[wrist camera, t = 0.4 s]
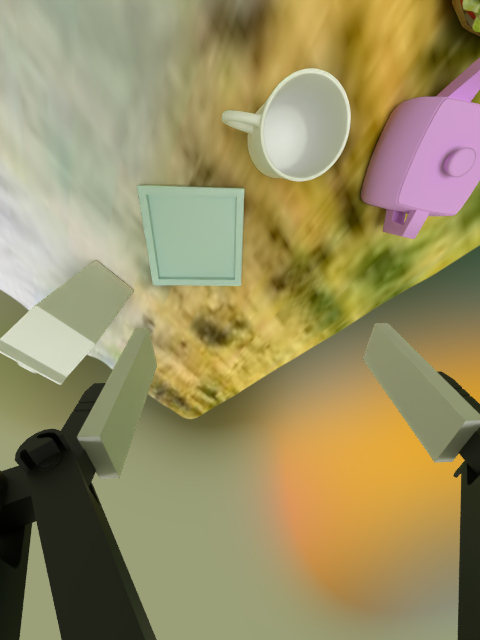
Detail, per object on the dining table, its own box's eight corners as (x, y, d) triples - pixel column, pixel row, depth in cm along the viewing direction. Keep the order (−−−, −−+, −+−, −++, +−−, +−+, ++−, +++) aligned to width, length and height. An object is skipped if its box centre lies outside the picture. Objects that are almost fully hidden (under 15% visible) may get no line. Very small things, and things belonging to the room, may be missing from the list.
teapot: (404, 59, 29) (479, 15, 21) (482, 82, 31) (583, 50, 22) (344, 221, 39) (378, 238, 30) (406, 233, 40) (456, 252, 31)
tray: (140, 184, 35) (136, 185, 33) (243, 187, 35) (244, 188, 34) (155, 280, 42) (153, 285, 40) (240, 281, 43) (240, 285, 41)
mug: (215, 157, 33) (211, 154, 23) (233, 72, 29) (238, 24, 19) (297, 186, 36) (325, 196, 25) (325, 112, 31) (373, 88, 21)
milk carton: (96, 259, 40) (7, 325, 23) (134, 290, 43) (79, 367, 26) (71, 287, 42) (-25, 365, 26) (109, 314, 45) (44, 400, 29)
